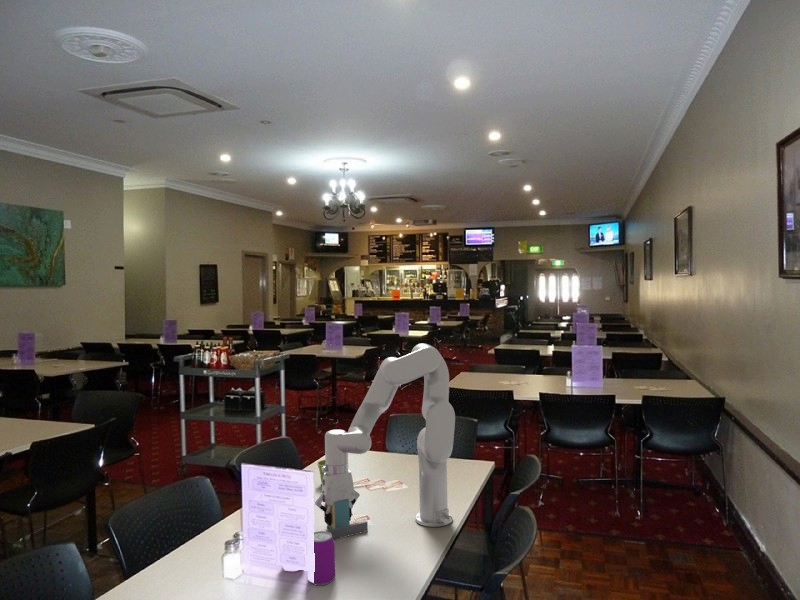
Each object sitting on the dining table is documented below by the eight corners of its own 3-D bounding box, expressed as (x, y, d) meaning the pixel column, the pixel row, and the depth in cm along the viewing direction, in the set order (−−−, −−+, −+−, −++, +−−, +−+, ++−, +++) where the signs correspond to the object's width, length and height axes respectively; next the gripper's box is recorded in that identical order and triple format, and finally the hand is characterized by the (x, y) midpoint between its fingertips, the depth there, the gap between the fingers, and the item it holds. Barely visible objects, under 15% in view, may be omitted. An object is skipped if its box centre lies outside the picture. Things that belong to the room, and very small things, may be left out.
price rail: (367, 530, 188) (367, 521, 188) (327, 541, 181) (327, 531, 181) (362, 527, 191) (362, 518, 191) (323, 537, 184) (323, 527, 184)
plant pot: (312, 483, 236) (312, 462, 236) (331, 478, 242) (331, 457, 242) (325, 489, 229) (325, 467, 229) (345, 483, 235) (344, 462, 235)
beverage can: (301, 581, 156) (300, 537, 155) (320, 570, 162) (319, 527, 162) (322, 589, 151) (321, 544, 151) (341, 577, 158) (340, 533, 157)
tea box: (340, 522, 195) (340, 493, 195) (349, 529, 189) (349, 499, 189) (326, 526, 192) (326, 496, 192) (335, 533, 186) (334, 502, 186)
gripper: (316, 475, 183) (318, 531, 183) (365, 466, 192) (366, 519, 192) (308, 469, 189) (309, 523, 190) (355, 460, 198) (356, 512, 198)
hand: (338, 521), depth 191 cm, fingers open, 6 cm apart
